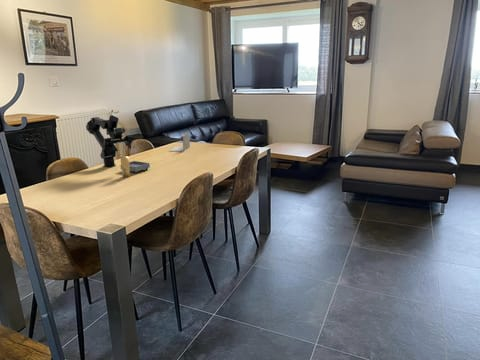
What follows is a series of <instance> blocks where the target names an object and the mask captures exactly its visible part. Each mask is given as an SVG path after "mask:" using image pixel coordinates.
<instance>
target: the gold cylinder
mask: <svg viewBox="0 0 480 360" xmlns="http://www.w3.org/2000/svg"><path fill="white" fill-rule="evenodd" d="M129 162H130V158H129V156H127V155H123V156H120V165H121V166H120V168H121V167H122V169H121V173H122V174H121V175H122V178H124V179H128V178H131V171H130V166H129Z"/></svg>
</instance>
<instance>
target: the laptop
mask: <svg viewBox="0 0 480 360" xmlns="http://www.w3.org/2000/svg"><path fill="white" fill-rule="evenodd" d="M190 141H191V140H190V132H187V133H186V134H183V135H182V145H183V146H178V145H177V146H176V145H175V147H173V148H171V149H170V150H169V152H179V153H180V152H185V151H187V150H188V149H190V148H191V144H190V143H191V142H190Z"/></svg>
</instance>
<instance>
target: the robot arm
mask: <svg viewBox="0 0 480 360" xmlns="http://www.w3.org/2000/svg"><path fill="white" fill-rule="evenodd" d="M118 125H119V117H117V116H115V115H113V114H112V115H111V114H110V115H109V118H108V119H103V118H101V117H98V116H94V117H91V118H90V120H89V121H88V122H87V123H86V125H85V126H86V127H85V129H86V131H87V132H88V133H89V134H90V135H93V136H94V138H95V140H96V141H97V142H98V144H99V145H100V148H101V152H100V154H99V155H100V156H99V157H100V158H101V159H102V160H103V165H102V168H112V167H115V166H117V164H115V158H116V153H117V152H118V150H119V149H118V148H117V147H116V145H115V144H121V143H124V144H126V145H125V146H127V147H128V148H129V150H132V143H133V141H134V136H133V135H132V134H126V135H125V136H124V138H123V134H125V132H126V128H125V127H123V126H122V127H118ZM101 129H102V130H105V131H106V135H108V136H109V137H107V138H105V137H104V135H103V134H102V132H101V131H100V130H101Z"/></svg>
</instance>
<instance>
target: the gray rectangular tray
mask: <svg viewBox="0 0 480 360" xmlns="http://www.w3.org/2000/svg"><path fill="white" fill-rule="evenodd" d="M119 165H120V170H122V167H121V164H119ZM129 166H130V172H133V173H134V174H138V173H139V171H142V170H145V171H146V170H149V168H150V167H151V166H150V162H144V161H139V160H138V161H137V160H132V161H129Z"/></svg>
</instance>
